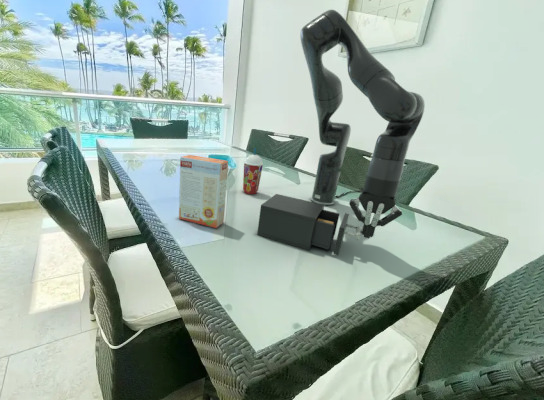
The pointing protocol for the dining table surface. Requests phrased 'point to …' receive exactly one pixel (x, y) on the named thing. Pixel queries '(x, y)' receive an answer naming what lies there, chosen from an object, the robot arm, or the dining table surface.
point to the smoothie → (252, 173)
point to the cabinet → (289, 220)
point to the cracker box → (202, 190)
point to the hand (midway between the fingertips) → (366, 236)
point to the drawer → (332, 230)
